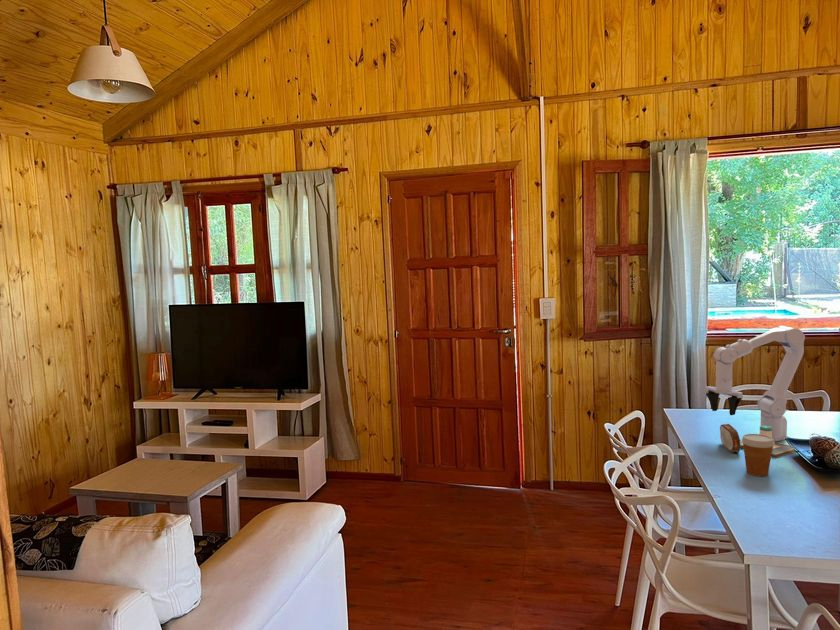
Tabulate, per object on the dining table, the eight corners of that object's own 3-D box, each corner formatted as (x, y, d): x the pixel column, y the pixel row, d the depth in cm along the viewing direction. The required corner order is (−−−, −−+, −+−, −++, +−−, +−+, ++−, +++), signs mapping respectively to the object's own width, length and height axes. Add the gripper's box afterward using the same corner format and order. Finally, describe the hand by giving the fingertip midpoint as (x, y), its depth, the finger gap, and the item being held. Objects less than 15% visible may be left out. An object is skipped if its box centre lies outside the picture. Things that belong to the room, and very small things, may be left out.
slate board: (756, 440, 234) (757, 437, 234) (798, 451, 220) (798, 447, 220) (733, 446, 228) (733, 443, 228) (775, 457, 214) (775, 454, 214)
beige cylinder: (763, 443, 227) (764, 424, 226) (774, 445, 223) (774, 427, 222) (756, 444, 225) (757, 426, 224) (767, 447, 221) (767, 429, 221)
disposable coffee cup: (734, 470, 202) (735, 435, 201) (754, 466, 206) (755, 431, 205) (760, 480, 194) (761, 443, 193) (780, 475, 197) (781, 439, 196)
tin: (741, 455, 218) (741, 432, 217) (731, 455, 218) (732, 432, 218) (727, 442, 233) (727, 421, 232) (718, 442, 233) (718, 421, 232)
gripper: (700, 376, 240) (700, 410, 241) (734, 382, 227) (733, 418, 228) (712, 374, 243) (712, 407, 244) (746, 380, 230) (745, 415, 231)
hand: (723, 412), depth 236 cm, fingers open, 7 cm apart
